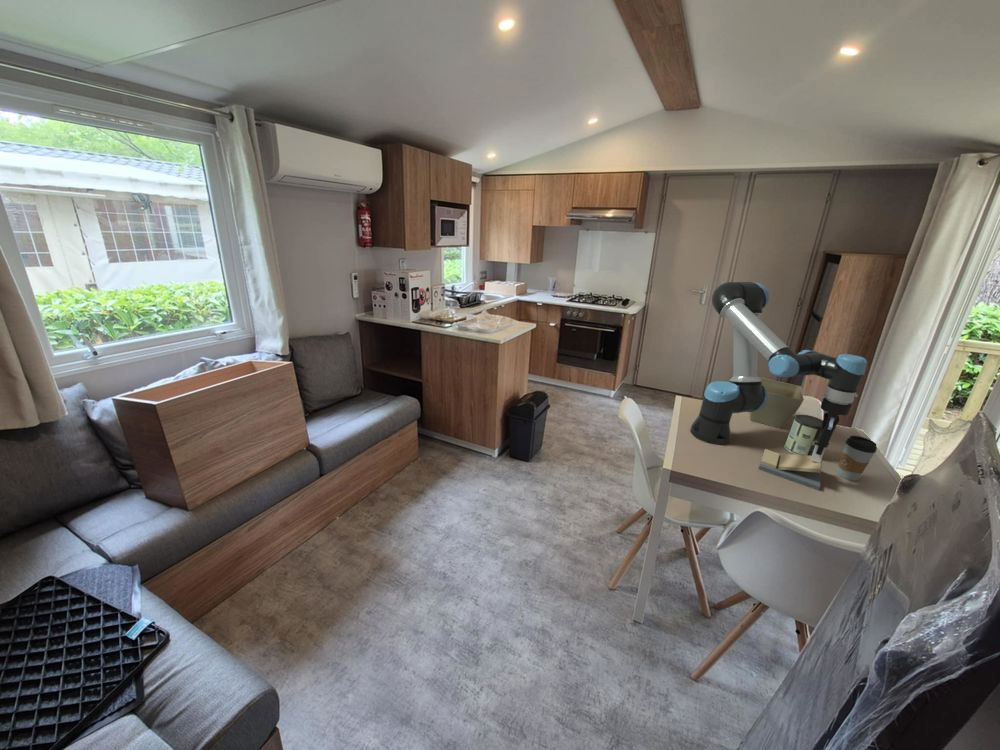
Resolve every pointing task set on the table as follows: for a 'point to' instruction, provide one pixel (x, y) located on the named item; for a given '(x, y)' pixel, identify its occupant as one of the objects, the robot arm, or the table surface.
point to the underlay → (788, 471)
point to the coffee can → (803, 435)
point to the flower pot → (778, 403)
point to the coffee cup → (855, 457)
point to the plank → (799, 463)
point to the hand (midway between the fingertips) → (815, 460)
